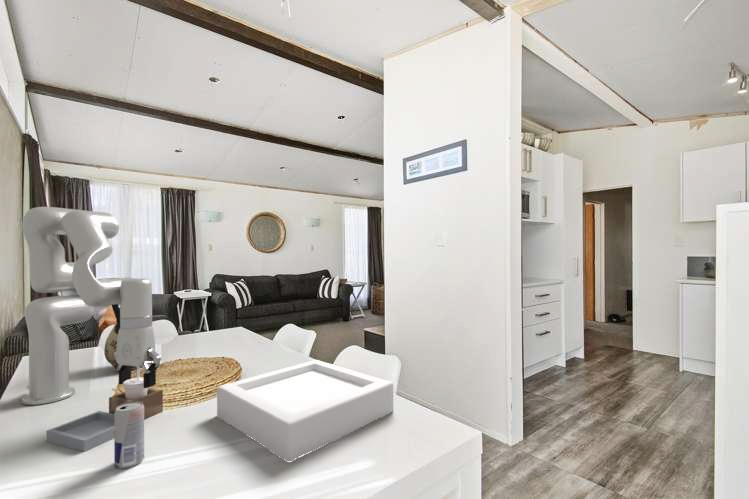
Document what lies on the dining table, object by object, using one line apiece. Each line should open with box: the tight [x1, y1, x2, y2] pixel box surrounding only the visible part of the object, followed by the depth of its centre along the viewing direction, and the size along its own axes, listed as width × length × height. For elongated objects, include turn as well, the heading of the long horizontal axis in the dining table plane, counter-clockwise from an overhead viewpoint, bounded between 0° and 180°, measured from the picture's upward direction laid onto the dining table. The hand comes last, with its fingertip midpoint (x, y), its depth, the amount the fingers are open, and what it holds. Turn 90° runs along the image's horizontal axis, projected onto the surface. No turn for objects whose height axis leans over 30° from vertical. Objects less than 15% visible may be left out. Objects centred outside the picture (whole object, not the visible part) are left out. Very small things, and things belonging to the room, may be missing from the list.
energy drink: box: [113, 402, 145, 470], centre depth 80 cm, size 5×5×12 cm
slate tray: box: [45, 410, 114, 452], centre depth 92 cm, size 14×12×2 cm
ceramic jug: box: [103, 304, 143, 373], centre depth 146 cm, size 17×15×30 cm
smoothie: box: [122, 367, 149, 400], centre depth 103 cm, size 6×6×14 cm
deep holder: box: [108, 387, 164, 421], centre depth 103 cm, size 9×9×6 cm
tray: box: [216, 359, 394, 462], centre depth 103 cm, size 35×35×9 cm
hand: (137, 384), depth 103 cm, fingers open, 9 cm apart
